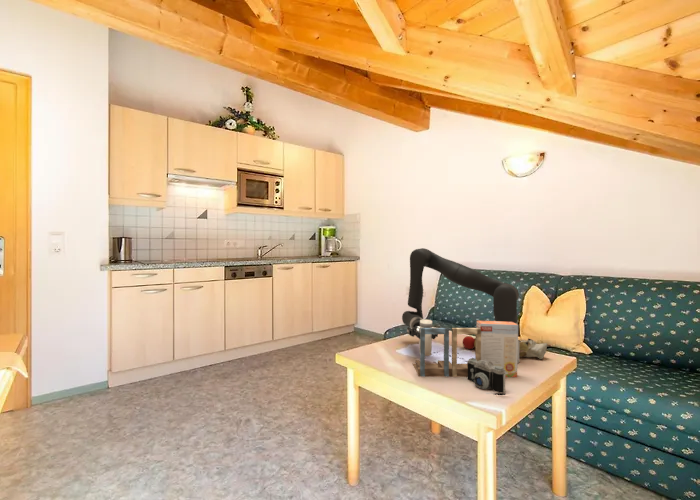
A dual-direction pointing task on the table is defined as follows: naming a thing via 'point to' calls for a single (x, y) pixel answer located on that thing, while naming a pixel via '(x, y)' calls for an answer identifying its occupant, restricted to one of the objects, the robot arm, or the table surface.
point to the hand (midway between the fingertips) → (427, 336)
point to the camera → (486, 375)
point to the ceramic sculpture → (532, 349)
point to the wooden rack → (446, 354)
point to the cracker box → (500, 344)
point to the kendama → (469, 342)
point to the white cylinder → (427, 336)
